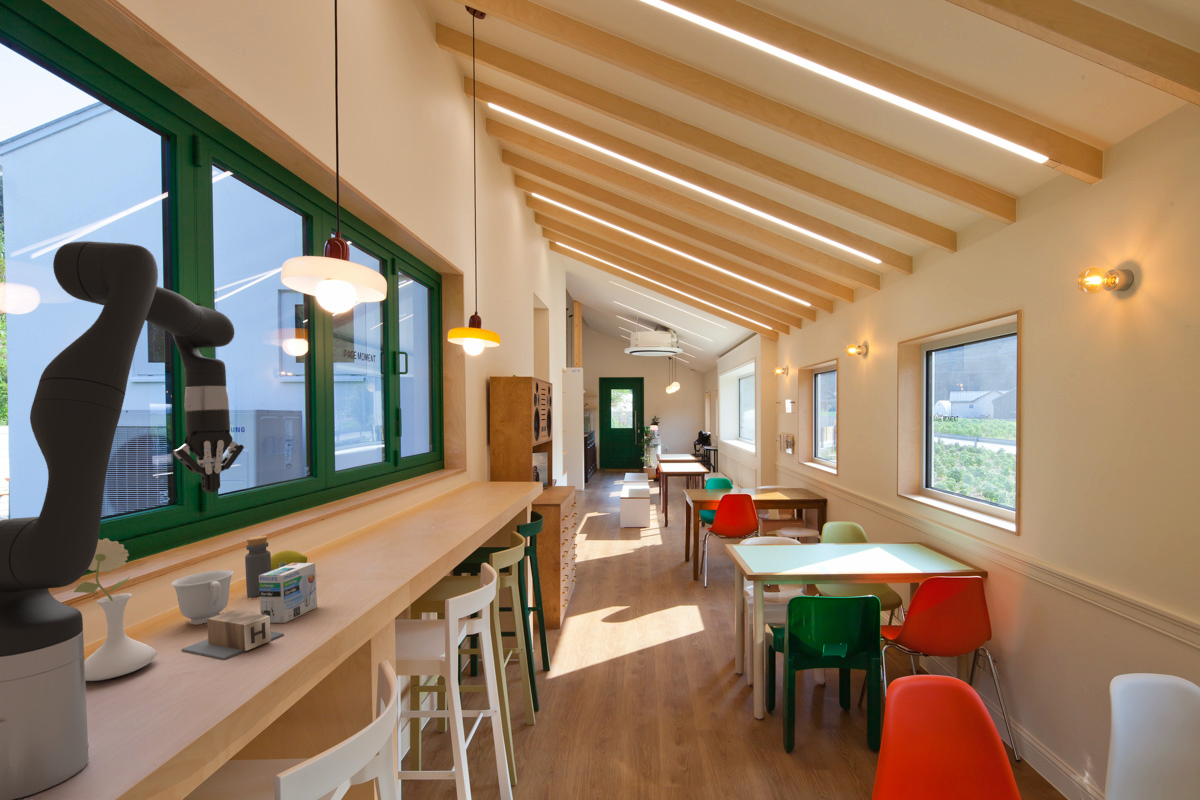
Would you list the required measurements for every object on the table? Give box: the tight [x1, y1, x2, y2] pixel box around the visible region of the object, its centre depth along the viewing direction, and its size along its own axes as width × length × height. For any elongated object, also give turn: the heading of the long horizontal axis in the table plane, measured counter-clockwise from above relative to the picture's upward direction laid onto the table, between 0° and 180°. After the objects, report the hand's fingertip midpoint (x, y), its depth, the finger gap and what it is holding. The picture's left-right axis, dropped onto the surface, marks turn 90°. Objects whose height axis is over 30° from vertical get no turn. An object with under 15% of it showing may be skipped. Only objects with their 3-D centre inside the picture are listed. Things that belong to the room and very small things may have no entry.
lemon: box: [271, 550, 308, 571], centre depth 163 cm, size 11×8×8 cm
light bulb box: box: [259, 562, 318, 624], centre depth 130 cm, size 11×7×11 cm, turn 168°
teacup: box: [170, 569, 235, 625], centre depth 129 cm, size 12×15×10 cm
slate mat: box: [181, 630, 285, 661], centre depth 114 cm, size 14×12×1 cm
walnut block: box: [206, 610, 272, 652], centre depth 113 cm, size 5×5×12 cm
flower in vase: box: [73, 537, 157, 682], centre depth 103 cm, size 13×11×25 cm
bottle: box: [244, 535, 272, 598], centre depth 149 cm, size 6×6×15 cm
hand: (211, 492), depth 116 cm, fingers closed
